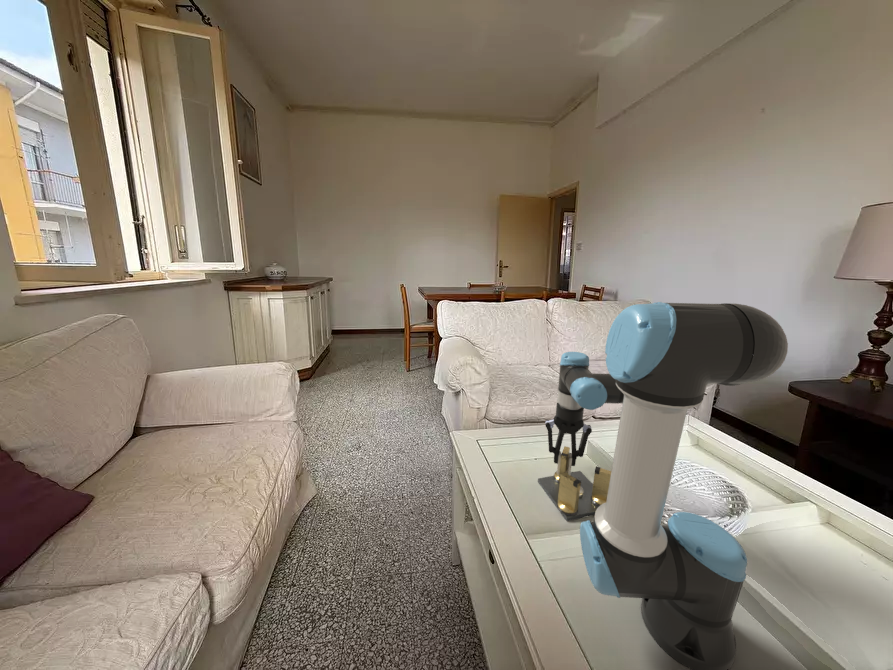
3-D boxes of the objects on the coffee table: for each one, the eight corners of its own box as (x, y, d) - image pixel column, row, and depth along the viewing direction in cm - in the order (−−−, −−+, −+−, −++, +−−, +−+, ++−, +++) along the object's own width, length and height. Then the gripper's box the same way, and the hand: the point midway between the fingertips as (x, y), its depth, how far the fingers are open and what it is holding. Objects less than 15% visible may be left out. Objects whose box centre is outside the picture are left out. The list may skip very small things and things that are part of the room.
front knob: (564, 496, 99) (567, 468, 96) (581, 507, 95) (584, 478, 92) (553, 505, 96) (556, 476, 93) (570, 516, 92) (573, 486, 89)
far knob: (573, 475, 108) (576, 449, 105) (570, 485, 103) (573, 458, 101) (556, 469, 110) (558, 444, 108) (552, 479, 106) (555, 453, 103)
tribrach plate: (616, 510, 96) (617, 502, 95) (564, 521, 92) (564, 514, 92) (580, 471, 112) (581, 465, 111) (534, 480, 108) (534, 473, 107)
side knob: (610, 508, 94) (614, 479, 92) (590, 501, 97) (594, 473, 94) (612, 496, 99) (616, 468, 96) (593, 490, 101) (596, 462, 99)
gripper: (597, 401, 101) (588, 469, 108) (542, 395, 105) (537, 461, 112) (600, 413, 94) (591, 485, 101) (542, 406, 98) (537, 476, 105)
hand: (563, 472), depth 106 cm, fingers closed on far knob, 2 cm apart
